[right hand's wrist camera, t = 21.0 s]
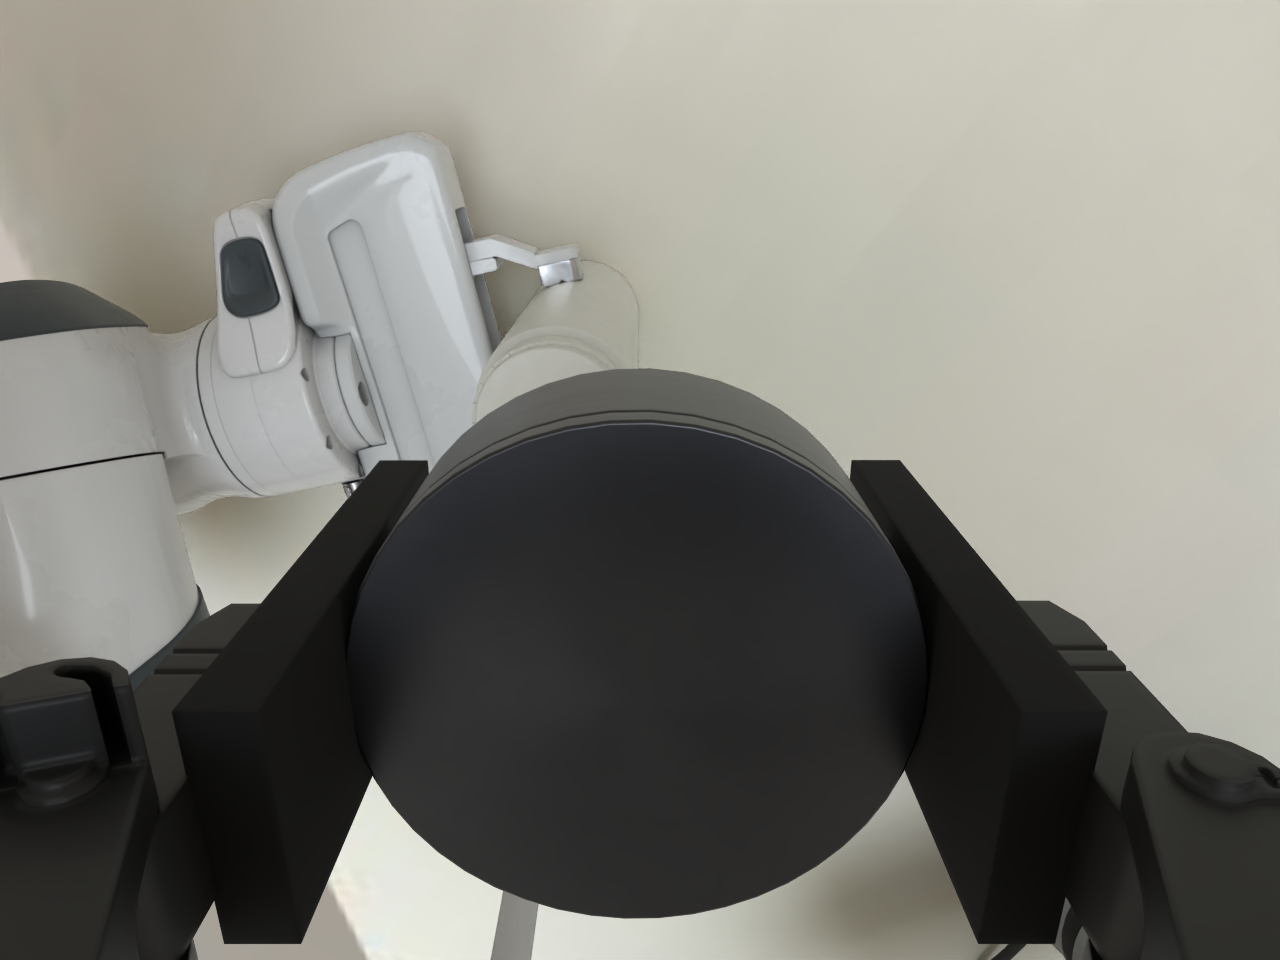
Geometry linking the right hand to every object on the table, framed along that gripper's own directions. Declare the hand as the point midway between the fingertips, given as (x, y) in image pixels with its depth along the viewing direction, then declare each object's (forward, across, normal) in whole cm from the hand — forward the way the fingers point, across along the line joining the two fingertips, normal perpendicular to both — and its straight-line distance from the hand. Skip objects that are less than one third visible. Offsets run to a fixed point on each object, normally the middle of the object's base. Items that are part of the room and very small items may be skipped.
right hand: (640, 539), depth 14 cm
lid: (-4, 0, 0) cm, 4 cm away
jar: (+34, +3, +2) cm, 34 cm away
